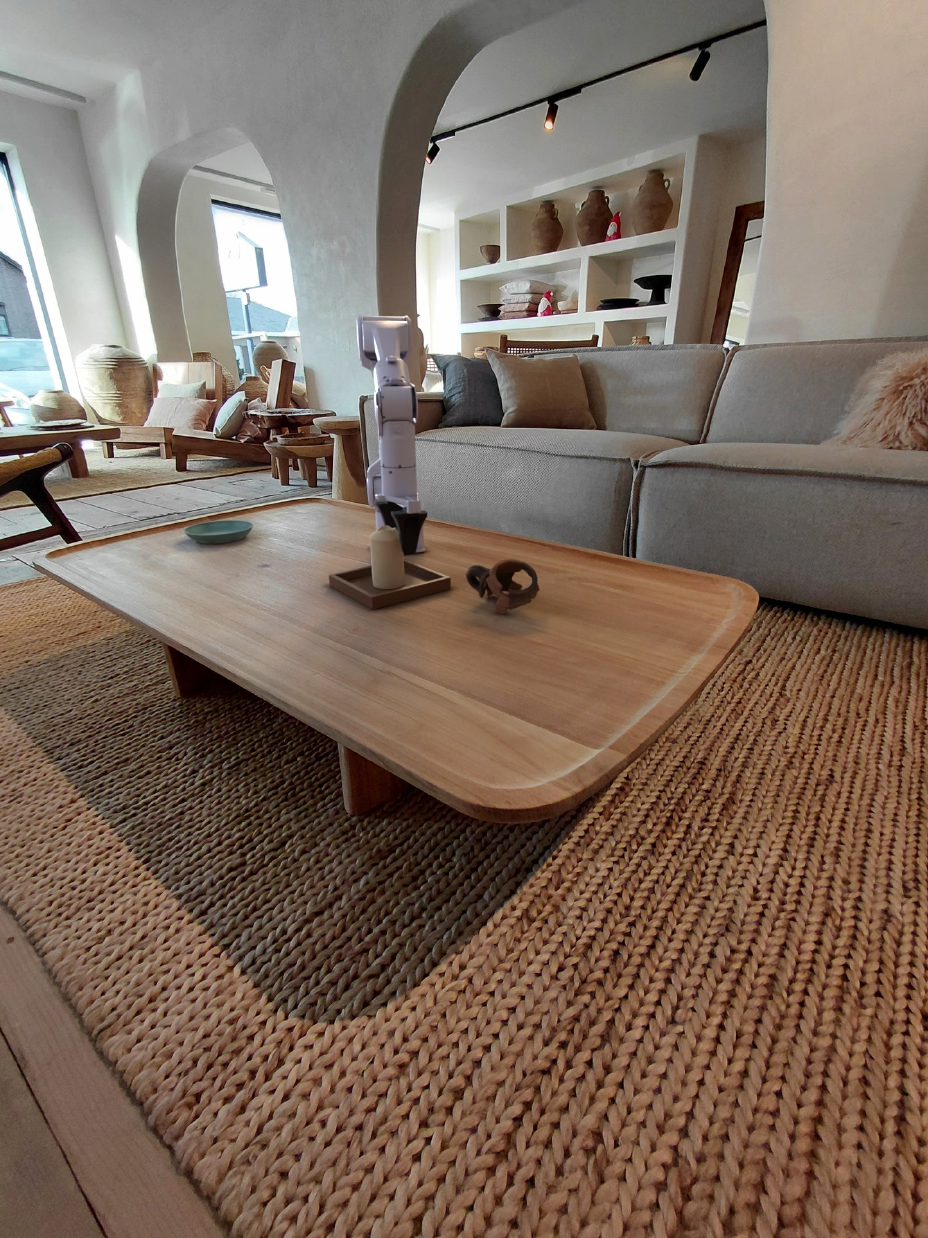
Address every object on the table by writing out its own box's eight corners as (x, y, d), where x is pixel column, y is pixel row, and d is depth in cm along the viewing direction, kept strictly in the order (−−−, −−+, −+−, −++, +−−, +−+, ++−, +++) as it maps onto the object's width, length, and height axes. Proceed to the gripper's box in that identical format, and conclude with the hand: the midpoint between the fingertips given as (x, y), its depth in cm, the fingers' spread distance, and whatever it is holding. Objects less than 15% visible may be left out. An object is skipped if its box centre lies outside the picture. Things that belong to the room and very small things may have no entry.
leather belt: (536, 596, 97) (548, 563, 91) (523, 638, 91) (535, 606, 85) (469, 574, 98) (476, 540, 92) (452, 615, 92) (458, 581, 86)
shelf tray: (403, 568, 110) (403, 558, 109) (451, 588, 99) (450, 577, 99) (329, 586, 101) (328, 574, 100) (372, 609, 90) (371, 597, 90)
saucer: (268, 533, 135) (266, 521, 134) (226, 549, 122) (224, 537, 121) (216, 528, 140) (214, 517, 139) (170, 543, 127) (167, 532, 126)
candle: (373, 579, 102) (370, 524, 98) (405, 578, 103) (402, 523, 99) (371, 590, 97) (367, 531, 93) (404, 589, 97) (402, 531, 94)
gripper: (362, 461, 98) (367, 539, 103) (388, 473, 86) (392, 561, 91) (402, 459, 100) (405, 535, 106) (432, 470, 88) (434, 556, 93)
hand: (402, 547), depth 98 cm, fingers open, 7 cm apart
